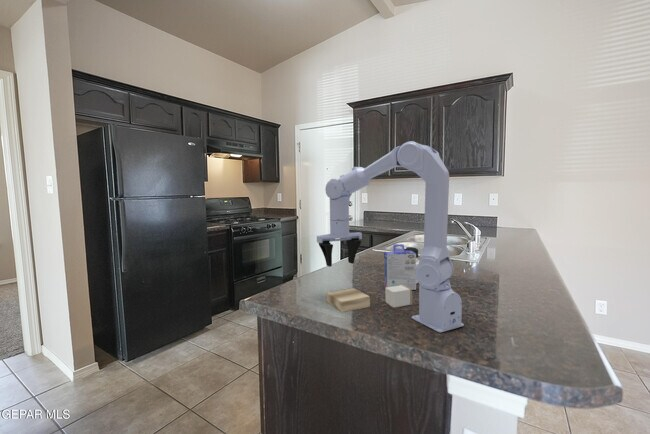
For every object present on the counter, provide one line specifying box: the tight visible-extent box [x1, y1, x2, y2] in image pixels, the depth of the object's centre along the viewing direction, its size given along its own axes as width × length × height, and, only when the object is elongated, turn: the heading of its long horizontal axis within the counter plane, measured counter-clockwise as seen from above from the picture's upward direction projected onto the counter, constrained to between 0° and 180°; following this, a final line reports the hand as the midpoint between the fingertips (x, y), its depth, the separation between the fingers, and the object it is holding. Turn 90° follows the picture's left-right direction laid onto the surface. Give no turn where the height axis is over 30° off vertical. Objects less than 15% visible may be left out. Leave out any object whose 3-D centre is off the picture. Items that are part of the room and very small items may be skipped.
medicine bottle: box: [404, 246, 420, 285], centre depth 110 cm, size 7×7×12 cm
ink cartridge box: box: [383, 243, 417, 291], centre depth 102 cm, size 10×6×14 cm, turn 90°
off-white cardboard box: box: [384, 285, 413, 308], centre depth 88 cm, size 5×5×6 cm
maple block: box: [326, 287, 371, 313], centre depth 87 cm, size 9×9×3 cm
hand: (340, 264), depth 93 cm, fingers open, 7 cm apart
